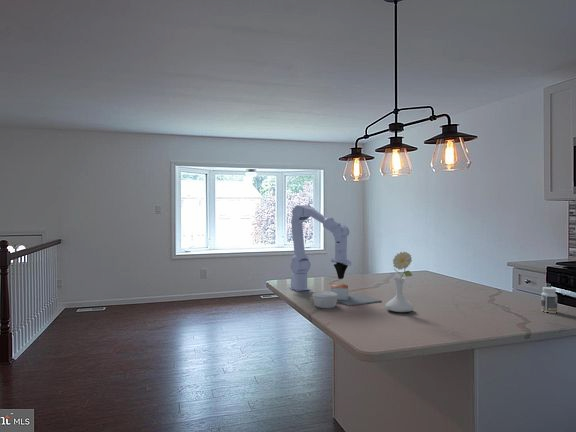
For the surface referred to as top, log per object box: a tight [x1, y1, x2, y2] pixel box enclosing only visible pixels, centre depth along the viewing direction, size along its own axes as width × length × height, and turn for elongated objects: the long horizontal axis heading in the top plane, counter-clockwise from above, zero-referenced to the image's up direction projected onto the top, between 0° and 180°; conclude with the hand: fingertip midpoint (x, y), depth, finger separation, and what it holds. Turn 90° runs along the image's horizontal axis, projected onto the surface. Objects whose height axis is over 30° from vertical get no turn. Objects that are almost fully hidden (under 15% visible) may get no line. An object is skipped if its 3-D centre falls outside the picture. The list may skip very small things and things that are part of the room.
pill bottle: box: [540, 286, 558, 314], centre depth 167 cm, size 6×6×10 cm
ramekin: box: [312, 290, 338, 309], centre depth 176 cm, size 11×11×5 cm
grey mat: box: [337, 292, 382, 307], centre depth 188 cm, size 18×18×1 cm
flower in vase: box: [384, 251, 415, 313], centre depth 167 cm, size 13×11×25 cm
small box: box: [330, 283, 349, 300], centre depth 189 cm, size 8×6×10 cm
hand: (340, 278), depth 196 cm, fingers closed
